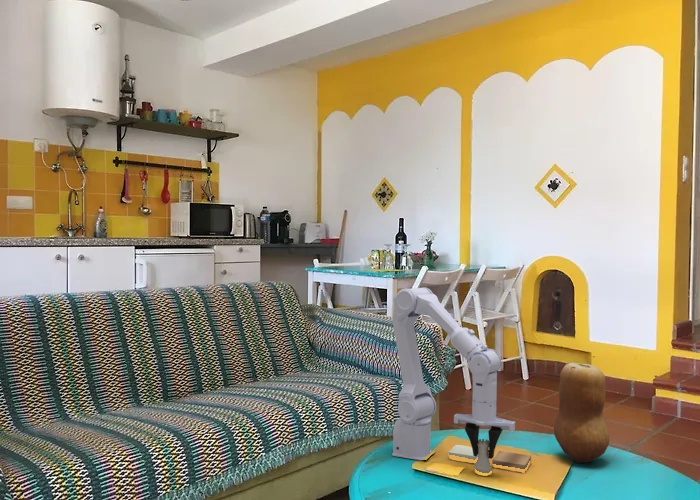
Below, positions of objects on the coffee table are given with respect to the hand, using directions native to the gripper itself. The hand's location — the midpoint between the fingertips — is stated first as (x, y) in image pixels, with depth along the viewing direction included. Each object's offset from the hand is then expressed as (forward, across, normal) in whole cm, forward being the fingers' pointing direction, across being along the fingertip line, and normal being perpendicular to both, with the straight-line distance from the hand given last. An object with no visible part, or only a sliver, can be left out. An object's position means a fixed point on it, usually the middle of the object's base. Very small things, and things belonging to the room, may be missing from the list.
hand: (483, 456), depth 149 cm
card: (+4, -9, -2) cm, 10 cm away
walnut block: (+4, +5, +9) cm, 11 cm away
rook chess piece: (+4, 0, 0) cm, 4 cm away
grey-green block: (+4, -7, +9) cm, 12 cm away
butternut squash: (+4, +20, +22) cm, 30 cm away
